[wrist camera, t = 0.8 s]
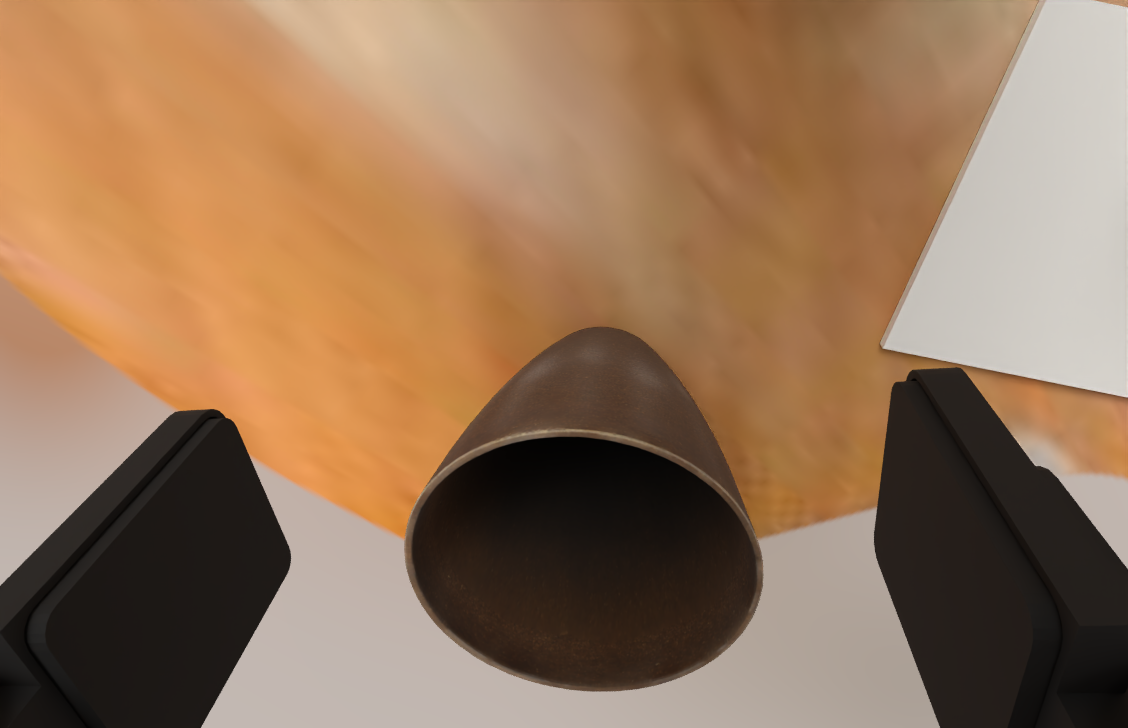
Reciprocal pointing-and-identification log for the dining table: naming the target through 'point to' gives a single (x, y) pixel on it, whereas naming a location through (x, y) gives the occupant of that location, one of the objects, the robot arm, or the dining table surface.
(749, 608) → the plant pot
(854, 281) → the dining table surface
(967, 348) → the mat
